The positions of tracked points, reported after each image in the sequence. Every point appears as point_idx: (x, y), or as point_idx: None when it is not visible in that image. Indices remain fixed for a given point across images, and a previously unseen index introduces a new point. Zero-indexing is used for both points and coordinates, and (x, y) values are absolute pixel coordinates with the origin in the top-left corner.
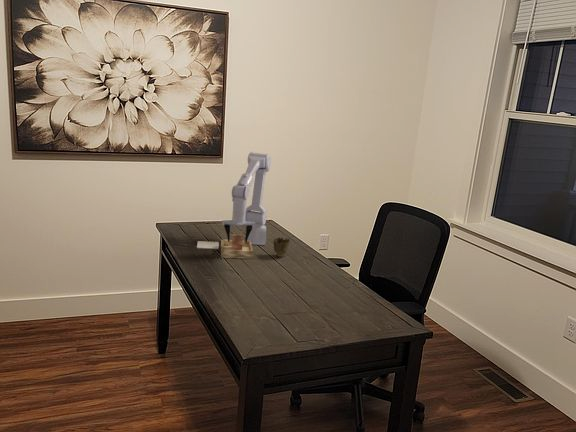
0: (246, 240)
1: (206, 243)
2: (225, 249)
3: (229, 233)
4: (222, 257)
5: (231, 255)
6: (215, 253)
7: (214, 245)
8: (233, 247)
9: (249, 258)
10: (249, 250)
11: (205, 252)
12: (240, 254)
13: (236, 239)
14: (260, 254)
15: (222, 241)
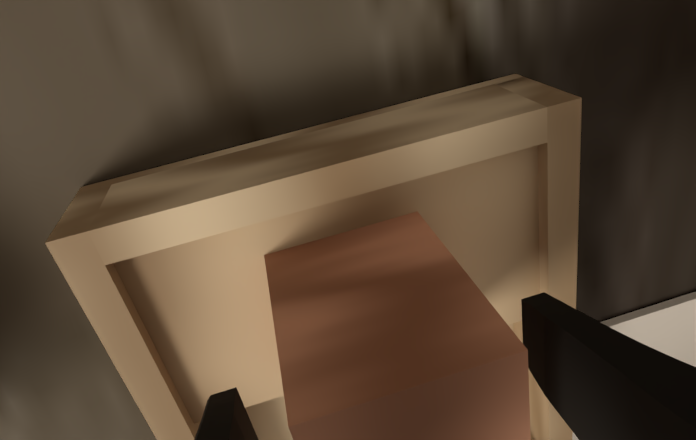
0: (209, 421)
1: None
2: (519, 146)
3: (659, 399)
4: (496, 79)
5: (392, 117)
6: None
7: None
8: (411, 234)
9: (127, 175)
10: (125, 255)
11: (680, 190)
12: (264, 158)
13: (419, 339)
14: (48, 383)
15: (559, 427)
